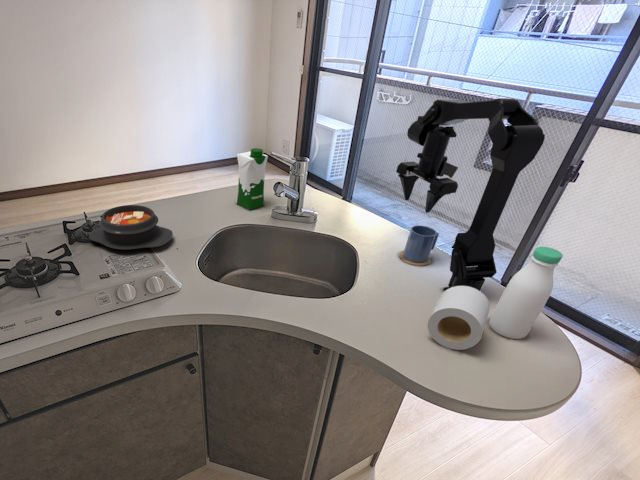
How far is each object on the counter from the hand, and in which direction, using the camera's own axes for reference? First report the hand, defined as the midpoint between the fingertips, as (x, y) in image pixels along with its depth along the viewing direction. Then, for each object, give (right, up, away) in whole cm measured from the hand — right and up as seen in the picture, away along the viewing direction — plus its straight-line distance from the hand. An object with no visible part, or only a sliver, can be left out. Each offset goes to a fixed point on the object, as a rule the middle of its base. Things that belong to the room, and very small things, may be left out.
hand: (416, 206), depth 115 cm
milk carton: (-48, +7, +29) cm, 57 cm away
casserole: (-85, -9, +5) cm, 85 cm away
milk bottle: (+9, -34, -26) cm, 44 cm away
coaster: (-1, -15, 0) cm, 15 cm away
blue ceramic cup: (0, -15, 0) cm, 15 cm away
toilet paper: (-5, -35, -28) cm, 45 cm away
